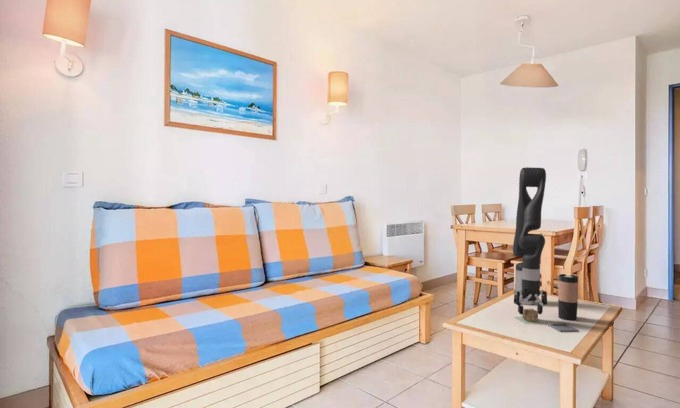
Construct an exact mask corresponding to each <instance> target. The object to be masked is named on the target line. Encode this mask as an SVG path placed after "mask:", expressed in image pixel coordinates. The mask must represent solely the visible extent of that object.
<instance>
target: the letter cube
mask: <svg viewBox="0 0 680 408" xmlns="http://www.w3.org/2000/svg"><path fill="white" fill-rule="evenodd" d="M522 317H523V319H524V320H526V321H527V322H538V319H539V314H538V312H537V309H533V308H523V315H522Z"/></svg>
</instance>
